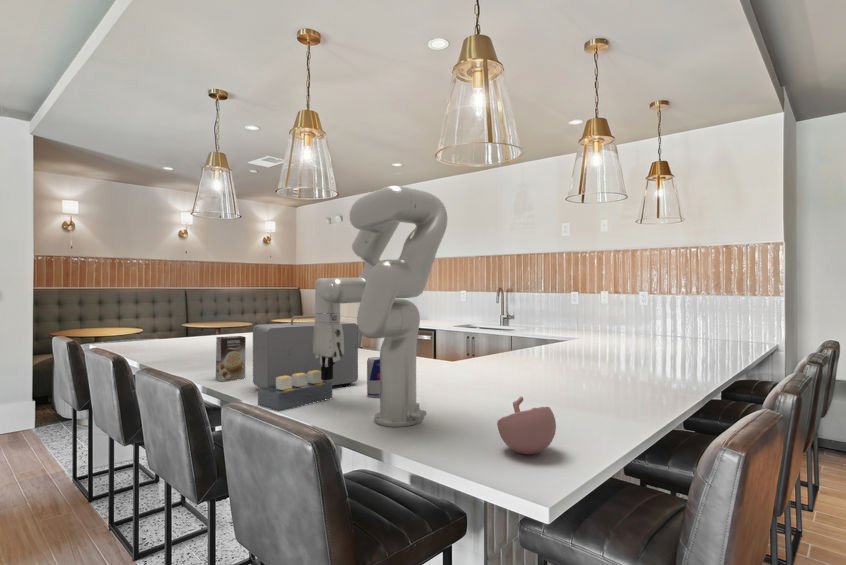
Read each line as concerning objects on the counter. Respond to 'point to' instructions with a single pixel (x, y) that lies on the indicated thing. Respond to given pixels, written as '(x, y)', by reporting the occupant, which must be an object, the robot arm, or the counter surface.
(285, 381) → the switch
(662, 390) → the counter surface
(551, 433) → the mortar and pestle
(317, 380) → the switch
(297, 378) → the switch
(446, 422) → the counter surface
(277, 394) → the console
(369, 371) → the energy drink
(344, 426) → the counter surface
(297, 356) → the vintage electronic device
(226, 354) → the coffee box
